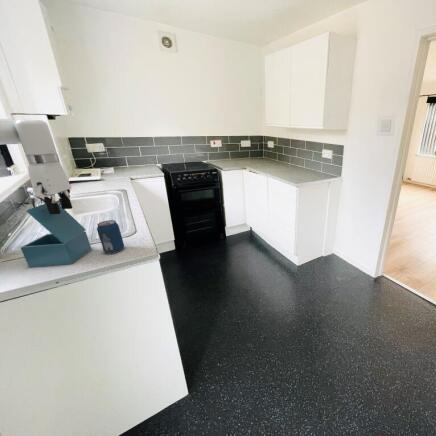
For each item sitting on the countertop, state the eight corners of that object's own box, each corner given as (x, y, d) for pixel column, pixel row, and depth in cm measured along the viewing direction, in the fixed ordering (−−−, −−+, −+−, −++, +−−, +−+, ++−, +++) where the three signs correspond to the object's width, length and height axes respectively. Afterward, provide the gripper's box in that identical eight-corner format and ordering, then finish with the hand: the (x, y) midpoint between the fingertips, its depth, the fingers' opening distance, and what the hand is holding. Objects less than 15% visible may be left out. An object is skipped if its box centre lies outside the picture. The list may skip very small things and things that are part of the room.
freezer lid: (25, 211, 81) (39, 202, 80) (53, 201, 92) (65, 193, 91) (63, 243, 86) (75, 235, 86) (84, 230, 97) (96, 223, 97)
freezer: (29, 267, 87) (20, 247, 84) (54, 251, 98) (46, 233, 95) (71, 264, 89) (64, 244, 86) (91, 249, 100) (85, 231, 97)
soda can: (123, 245, 103) (115, 218, 99) (126, 250, 98) (118, 222, 94) (103, 250, 99) (94, 222, 94) (105, 256, 94) (96, 227, 90)
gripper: (50, 157, 89) (67, 204, 95) (6, 163, 73) (29, 220, 79) (73, 156, 90) (88, 204, 96) (35, 162, 74) (55, 218, 80)
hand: (61, 210), depth 88 cm, fingers closed on freezer lid, 5 cm apart
